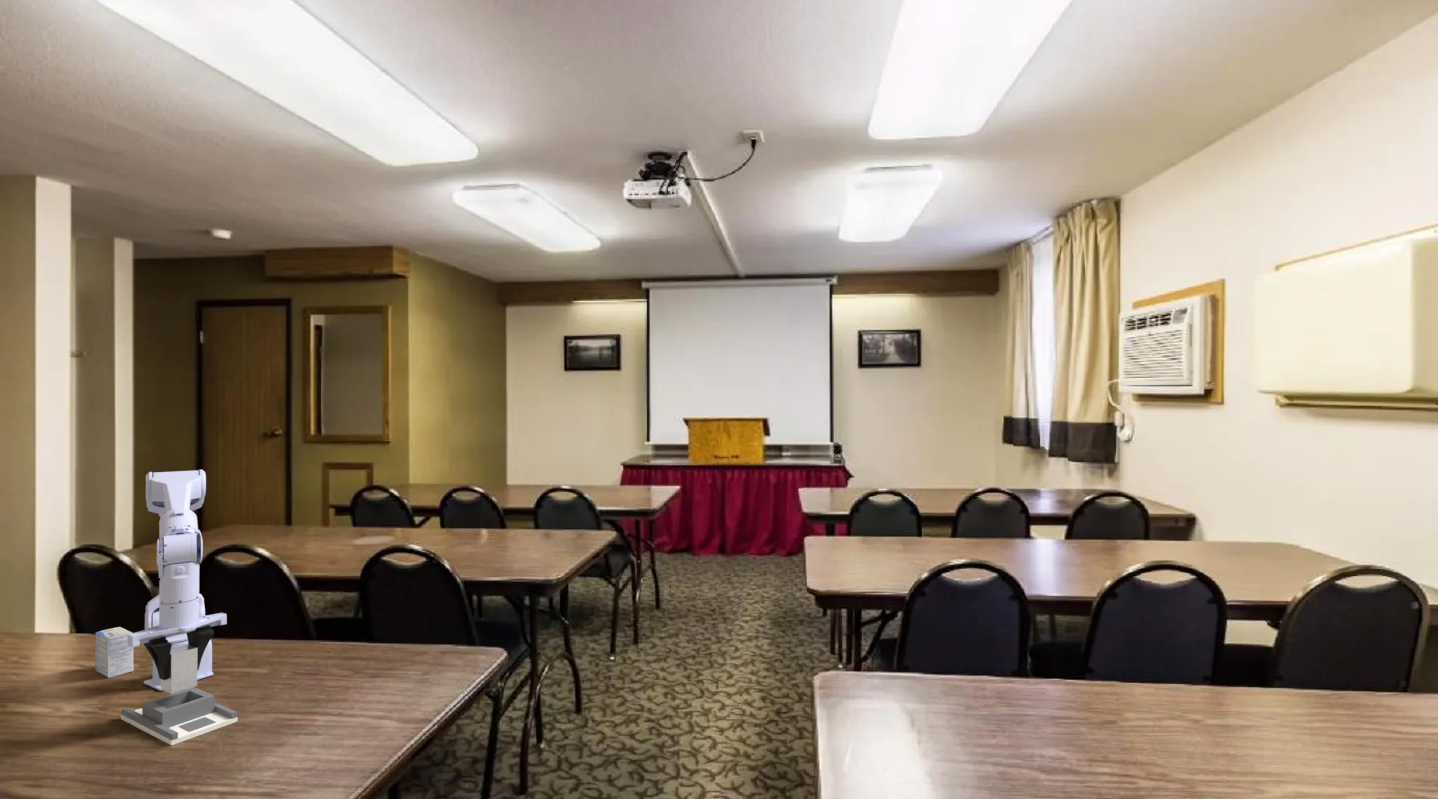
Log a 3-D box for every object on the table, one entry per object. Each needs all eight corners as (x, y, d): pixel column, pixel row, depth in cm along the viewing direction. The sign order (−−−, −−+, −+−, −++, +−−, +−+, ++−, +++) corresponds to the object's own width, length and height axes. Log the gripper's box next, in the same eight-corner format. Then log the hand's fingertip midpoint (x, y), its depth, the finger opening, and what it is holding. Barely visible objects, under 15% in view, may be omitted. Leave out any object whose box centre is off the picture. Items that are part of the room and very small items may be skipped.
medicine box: (134, 672, 146) (134, 632, 146) (107, 679, 142) (107, 638, 142) (120, 664, 150) (121, 626, 150) (94, 671, 146) (94, 631, 146)
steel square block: (186, 681, 126) (187, 644, 126) (197, 685, 124) (197, 647, 124) (160, 689, 122) (161, 650, 122) (171, 693, 120) (171, 654, 120)
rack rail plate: (185, 698, 132) (185, 679, 132) (237, 721, 122) (237, 700, 122) (120, 719, 123) (120, 698, 123) (171, 745, 114) (171, 722, 114)
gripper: (140, 613, 115) (139, 693, 115) (235, 593, 127) (234, 664, 127) (122, 607, 118) (121, 685, 118) (216, 588, 131) (216, 658, 131)
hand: (179, 674), depth 123 cm, fingers closed on steel square block, 4 cm apart
